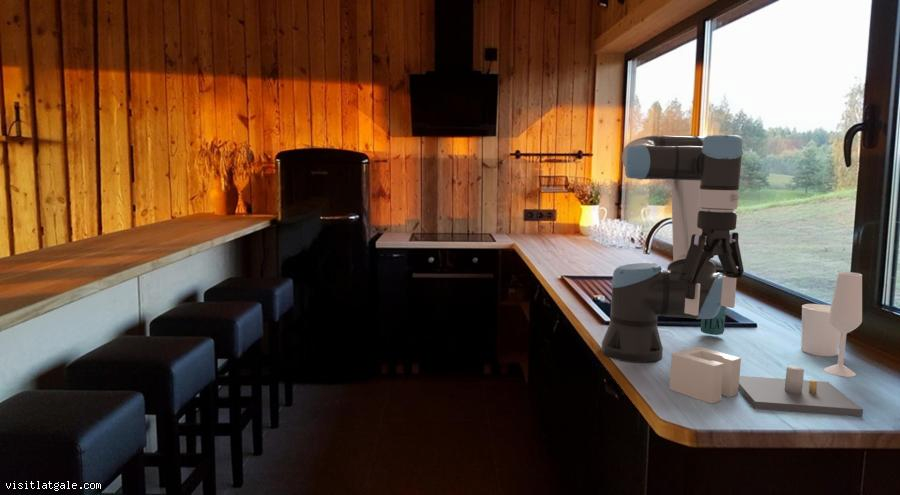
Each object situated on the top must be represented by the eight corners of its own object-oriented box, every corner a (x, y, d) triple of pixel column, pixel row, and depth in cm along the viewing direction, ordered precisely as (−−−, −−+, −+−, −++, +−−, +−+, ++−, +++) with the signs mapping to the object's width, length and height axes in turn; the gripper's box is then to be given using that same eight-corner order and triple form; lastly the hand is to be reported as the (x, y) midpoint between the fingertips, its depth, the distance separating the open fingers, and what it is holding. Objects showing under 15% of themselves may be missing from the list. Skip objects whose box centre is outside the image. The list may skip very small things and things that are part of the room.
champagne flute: (843, 378, 146) (854, 276, 143) (817, 369, 152) (826, 271, 149) (862, 374, 149) (873, 275, 146) (835, 366, 155) (845, 270, 152)
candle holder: (846, 359, 161) (851, 313, 160) (805, 355, 163) (809, 310, 162) (831, 348, 171) (836, 305, 169) (792, 345, 173) (796, 302, 171)
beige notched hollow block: (669, 389, 137) (671, 353, 136) (695, 380, 143) (698, 346, 142) (711, 403, 129) (714, 366, 128) (737, 394, 135) (741, 358, 134)
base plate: (754, 408, 127) (757, 377, 126) (731, 381, 142) (734, 354, 141) (862, 416, 124) (865, 384, 123) (827, 388, 139) (830, 360, 138)
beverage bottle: (699, 338, 178) (704, 269, 175) (699, 332, 184) (704, 265, 181) (724, 341, 175) (730, 270, 173) (723, 335, 182) (729, 267, 179)
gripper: (699, 213, 120) (691, 321, 123) (766, 210, 135) (757, 306, 137) (665, 210, 126) (658, 313, 129) (732, 207, 141) (725, 300, 143)
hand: (709, 310), depth 133 cm, fingers open, 13 cm apart
